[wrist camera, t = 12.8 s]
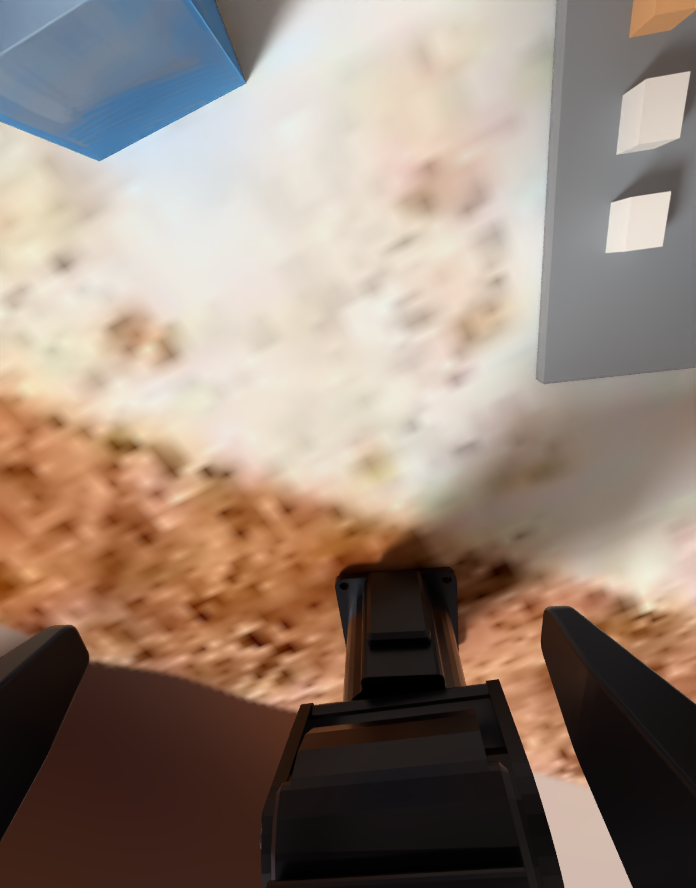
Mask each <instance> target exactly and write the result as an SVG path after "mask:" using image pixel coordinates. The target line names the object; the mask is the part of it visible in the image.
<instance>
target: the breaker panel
mask: <svg viewBox="0 0 696 888" xmlns="http://www.w3.org/2000/svg"><path fill="white" fill-rule="evenodd" d="M695 367H696V0H557V10H556V28H555V46H554V64H553V82H552V100H551V119H550V137H549V155H548V173H547V191H546V209H545V227H544V246H543V264H542V282H541V300H540V318H539V336H538V355H537V373H536V379H537V380H538V381H540V382H541V383H543V384H548V383H557V382H567V381H576V380H585V379H594V378H603V377H613V376H622V375H631V374H640V373H649V372H659V371H668V370H677V369H686V368H695Z"/></svg>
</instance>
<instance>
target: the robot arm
mask: <svg viewBox="0 0 696 888" xmlns="http://www.w3.org/2000/svg"><path fill="white" fill-rule="evenodd" d="M445 576H449V577H448V578H443V577H445ZM341 583H347V584H346V585H344V584H341ZM335 589H336V595H337V600H338V605H339V611H340V616H341V622H342V627H343V633H344V638H345V644H346V664H345V679H344V695H343V702H335V703H327V704H319V705H314V704H313V703H309V704H301V705H300V708H299V711H298V714H297V716H296V719H295V722H294V724H293V727H292V730H291V732H290V735H289V738H288V741H287V744H286V746H285V749H284V752H283V755H282V758H281V761H280V763H279V766H278V769H277V772H276V775H275V777H274V780H273V783H272V786H271V789H270V791H269V794H268V797H267V800H266V803H265V805H264V808H263V812H262V830H261V834H260V847H261V868H262V882H263V888H564V883H563V880H562V875H561V871H560V867H559V863H558V859H557V855H556V851H555V848H554V844H553V840H552V836H551V832H550V829H549V825H548V822H547V819H546V815H545V812H544V808H543V805H542V802H541V799H540V795H539V792H538V789H537V786H536V782H535V780H534V776H533V773H532V770H531V768H530V765H529V762H528V759H527V756H526V753H525V751H524V748H523V745H522V742H521V740H520V737H519V734H518V731H517V728H516V726H515V723H514V720H513V717H512V715H511V712H510V709H509V706H508V704H507V701H506V698H505V695H504V692H503V690H502V687H501V684H500V681H499V679H497V680H489V681H486V683H485V684H477V685H469V686H466V682H465V678H464V674H463V669H462V665H461V661H460V656H459V646H458V613H457V580H456V576H455V572H454V570H453V569H451V568H449V567H441V568H426V569H411V570H396V571H381V572H366V573H351V574H341V575H339V576H337V578H336V582H335ZM541 648H542V653H543V656H544V659H545V662H546V665H547V668H548V671H549V675H550V678H551V681H552V684H553V687H554V690H555V693H556V696H557V699H558V703H559V706H560V709H561V712H562V715H563V718H564V721H565V724H566V727H567V730H568V734H569V736H570V739H571V742H572V745H573V748H574V751H575V753H576V756H577V758H578V761H579V763H580V766H581V768H582V770H583V773H584V775H585V777H586V780H587V782H588V784H589V787H590V789H591V791H592V794H593V796H594V798H595V801H596V803H597V805H598V808H599V810H600V812H601V814H602V817H603V819H604V821H605V824H606V826H607V829H608V831H609V833H610V836H611V838H612V840H613V843H614V845H615V847H616V850H617V852H618V854H619V857H620V859H621V861H622V864H623V866H624V868H625V871H626V873H627V875H628V878H629V880H630V882H631V885H632V887H633V888H696V703H694V702H693V701H692V700H690V699H689V698H688V697H687V696H685V695H684V694H683V693H681V692H680V691H679V690H678V689H676V688H675V687H674V686H672V685H671V684H670V683H669V682H667V681H666V680H665V679H663V678H662V677H661V676H660V675H658V674H657V673H656V672H655V671H653V670H652V669H651V668H649V667H648V666H647V665H646V664H644V663H643V662H642V661H640V660H639V659H638V658H637V657H635V656H634V655H633V654H631V653H630V652H629V651H628V650H626V649H625V648H624V647H622V646H621V645H620V644H619V643H617V642H616V641H615V640H613V639H612V638H611V637H610V636H608V635H607V634H606V633H604V632H603V631H602V630H601V629H599V628H598V627H597V626H595V625H594V624H593V623H592V622H590V621H589V620H588V619H586V618H585V617H584V616H583V615H581V614H580V613H579V612H577V611H576V610H575V609H573V608H572V607H569V606H550V607H547V608H546V609H545V610H544V615H543V624H542V633H541ZM88 663H89V653H88V651H87V649H86V646H85V644H84V642H83V640H82V638H81V636H80V634H79V632H78V630H77V629H76V628H75V627H74V626H72V625H55V626H51V627H48V628H46V629H45V630H43V631H41V632H40V633H38V634H37V635H35V636H34V637H32V638H30V639H29V640H27V641H26V642H24V643H22V644H21V645H19V646H18V647H16V648H15V649H13V650H11V651H10V652H8V653H7V654H5V655H4V656H2V657H0V842H1V840H2V838H3V836H4V834H5V833H6V831H7V829H8V827H9V825H10V823H11V821H12V820H13V818H14V816H15V814H16V812H17V811H18V809H19V807H20V805H21V803H22V801H23V799H24V798H25V796H26V794H27V792H28V790H29V789H30V787H31V785H32V783H33V781H34V779H35V777H36V776H37V774H38V772H39V770H40V768H41V766H42V765H43V763H44V761H45V759H46V757H47V755H48V753H49V751H50V749H51V747H52V744H53V742H54V740H55V738H56V736H57V734H58V732H59V729H60V727H61V725H62V723H63V720H64V718H65V716H66V714H67V712H68V709H69V707H70V705H71V703H72V700H73V698H74V696H75V694H76V692H77V689H78V687H79V685H80V683H81V680H82V678H83V676H84V674H85V672H86V669H87V667H88Z"/></svg>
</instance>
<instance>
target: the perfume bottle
mask: <svg viewBox="0 0 696 888" xmlns="http://www.w3.org/2000/svg"><path fill="white" fill-rule="evenodd" d="M244 84H246V82H245V79H244V77H243V74H242V71H241V69H240V66H239V63H238V61H237V58H236V55H235V53H234V50H233V47H232V45H231V42H230V39H229V37H228V34H227V31H226V29H225V26H224V23H223V21H222V18H221V15H220V13H219V10H218V7H217V5H216V2H215V0H0V122H3V123H5V124H8V125H10V126H13V127H15V128H18V129H20V130H23V131H25V132H28V133H30V134H33V135H35V136H38V137H40V138H43V139H45V140H48V141H50V142H53V143H55V144H58V145H60V146H63V147H65V148H68V149H70V150H73V151H75V152H78V153H80V154H83V155H85V156H88V157H90V158H93V159H95V160H98V161H101V160H103V159H105V158H107V157H108V156H110V155H112V154H114V153H116V152H118V151H120V150H122V149H123V148H125V147H127V146H129V145H131V144H133V143H135V142H137V141H138V140H140V139H142V138H144V137H146V136H148V135H150V134H152V133H153V132H155V131H157V130H159V129H161V128H163V127H165V126H167V125H169V124H170V123H172V122H174V121H176V120H178V119H180V118H182V117H184V116H185V115H187V114H189V113H191V112H193V111H195V110H197V109H199V108H200V107H202V106H204V105H206V104H208V103H210V102H212V101H214V100H215V99H217V98H219V97H221V96H223V95H225V94H227V93H229V92H231V91H232V90H234V89H236V88H238V87H240V86H242V85H244Z"/></svg>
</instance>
